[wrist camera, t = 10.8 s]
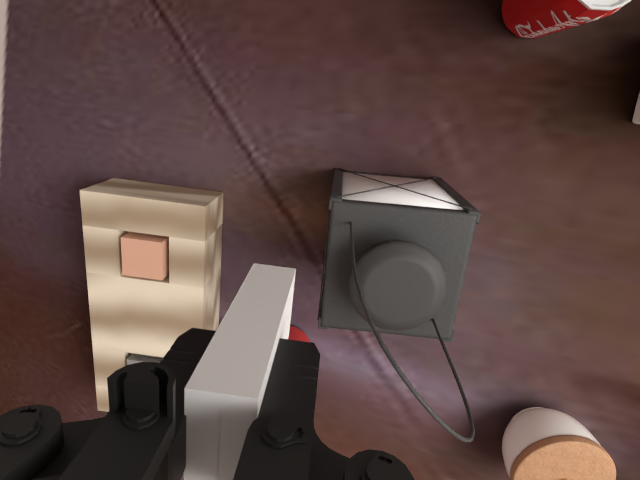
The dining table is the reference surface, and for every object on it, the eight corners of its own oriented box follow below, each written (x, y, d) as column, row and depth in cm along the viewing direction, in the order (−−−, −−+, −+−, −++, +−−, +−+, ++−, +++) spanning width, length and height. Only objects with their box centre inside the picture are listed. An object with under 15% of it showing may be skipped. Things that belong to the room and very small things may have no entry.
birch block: (113, 178, 44) (79, 190, 38) (223, 192, 44) (205, 206, 38) (124, 376, 53) (97, 410, 47) (216, 389, 53) (200, 424, 47)
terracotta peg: (148, 219, 45) (120, 237, 39) (184, 224, 45) (161, 242, 39) (149, 253, 46) (122, 275, 41) (184, 257, 46) (162, 280, 41)
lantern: (424, 275, 46) (532, 519, 19) (324, 266, 46) (297, 492, 20) (441, 176, 42) (605, 310, 16) (333, 167, 42) (314, 282, 16)
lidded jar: (518, 471, 54) (551, 544, 45) (473, 418, 52) (499, 485, 43) (594, 433, 51) (645, 503, 43) (550, 376, 49) (595, 438, 40)
